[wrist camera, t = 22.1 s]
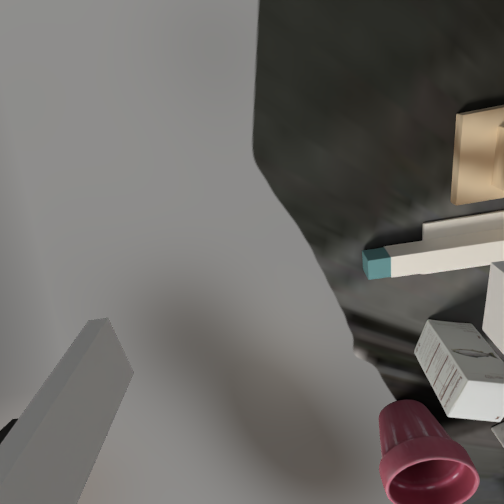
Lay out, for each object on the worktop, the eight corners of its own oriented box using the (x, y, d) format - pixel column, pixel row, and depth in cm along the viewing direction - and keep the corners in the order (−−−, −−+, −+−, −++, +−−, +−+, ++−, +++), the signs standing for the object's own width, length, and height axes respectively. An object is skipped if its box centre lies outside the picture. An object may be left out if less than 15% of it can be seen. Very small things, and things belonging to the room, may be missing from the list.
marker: (361, 249, 49) (368, 260, 46) (520, 225, 47) (537, 235, 44) (362, 269, 50) (368, 280, 47) (517, 246, 48) (533, 257, 45)
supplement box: (472, 321, 55) (526, 386, 43) (454, 357, 58) (501, 424, 47) (426, 317, 54) (469, 380, 43) (411, 352, 58) (447, 419, 46)
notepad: (422, 223, 47) (423, 224, 47) (540, 204, 46) (542, 205, 45) (421, 272, 51) (422, 274, 50) (530, 257, 49) (532, 258, 49)
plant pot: (374, 385, 61) (399, 455, 50) (453, 391, 62) (496, 463, 50) (357, 437, 68) (376, 509, 57) (428, 442, 68) (461, 516, 57)
